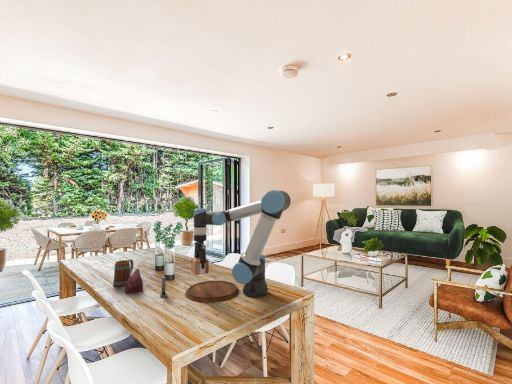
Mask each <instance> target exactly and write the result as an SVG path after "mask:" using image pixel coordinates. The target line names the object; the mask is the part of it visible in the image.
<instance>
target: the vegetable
mask: <svg viewBox="0 0 512 384" xmlns="http://www.w3.org/2000/svg"><path fill="white" fill-rule="evenodd" d="M143 291H144V282H143V278H142V276H141V272H140V268H139V267H137V268H136V269H135V270H134V272H133V273H131V274H130V278H129V279H128V281H127V284H126V286H124V292H125V294H127V295H128V294H130V295H132V294H133V295H134V294H138V293H141V292H143Z"/></svg>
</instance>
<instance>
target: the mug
mask: <svg viewBox="0 0 512 384" xmlns="http://www.w3.org/2000/svg"><path fill="white" fill-rule="evenodd" d="M133 270H134V260H133V259H131V258H129V259H125V260H124V259H123V260H117V261H115V263H114V271H113V272H114V275H113V281H112V284H113V286H114V287H116V288H120V287H121V288H123V287H126V284H127V281H128V279H129V278H130V276H131V275H132V272H133Z"/></svg>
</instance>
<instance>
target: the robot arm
mask: <svg viewBox="0 0 512 384" xmlns="http://www.w3.org/2000/svg"><path fill="white" fill-rule="evenodd" d="M291 203H292V202H291V197H290V194H288V192H286V191H284V190H277V189H275V190H274V189H273V190H269V191H266V192H265V193H264V194H263V196H262V197H261V200H257V201H255V202H251V203H248V204H244V205H241V206H236V207H234V208H230V209H227V210H223V211H214V212H213V211H208V210H207V208H204V207H203V208H194V210H193V228H192V231H193V241H194V254H193V255H194V256H193V257H194V258H200V275H206V274H205V263H206V259H207V252H206V251H207V249H206V247H207V245H206V244H205V243H204V242H206V241H207V233H208V232H207V230H208V229H207V227H208V226H207V225H209V226H216V227H217V226H224V224H228V223H231V222H235V221H238V220H243V219H245V218H246V219H247V218H250V217H253V216H257V215H260V217H259V219H258V220H257V223H256V226H255V227H254V230H253V232H252V236H251V238H250V240H249V243H248V245H247V248H246V249H245V252H244V253H241V254H240V256H239V259H238V261H237V263H235V264H234V265H233V266H232V269H231V275H232V277H233V279H234V280H235V282H237V283H238V284H240V285H243V288H242V294H243V295H244V296H247V297H249V298H251V297H252V298H260V297H259V296H261V297H264V296H263V295H265V296H266V294H267V293H268V294H269V288H268V285H267V282H266V256H265V255H264V254H263V252H264V249H265V247H266V245H267V242H268V240H269V237H270V234H271V233H272V230H273V228H274V226H275V224H276V221H279V220H280V219H281V217H282V214H283V212H284V211H286V210H288V209H289V208H290V206H291ZM203 260H204V261H203ZM268 294H267V295H268Z"/></svg>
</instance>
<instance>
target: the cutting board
mask: <svg viewBox="0 0 512 384" xmlns="http://www.w3.org/2000/svg"><path fill="white" fill-rule="evenodd" d="M238 292H239V293H240V290H239V287H238V286H237V285H236V283H233V282H231V281H226V280H206V281H200V282H197V283H194V284H192V285H190V286H189V287H188V288H187V290H185V293H184V294H185V297H186V299H187V300H189V301H191V302H196V303H205V304H207V303H210V302H212V303H220V302H225V301H228V300H230V298H231V299H233V298H235V297H236V296H238V294H239V293H238ZM234 296H235V297H234ZM232 297H233V298H232ZM227 299H228V300H227ZM224 300H225V301H224ZM219 301H220V302H219ZM210 304H211V303H210Z"/></svg>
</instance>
